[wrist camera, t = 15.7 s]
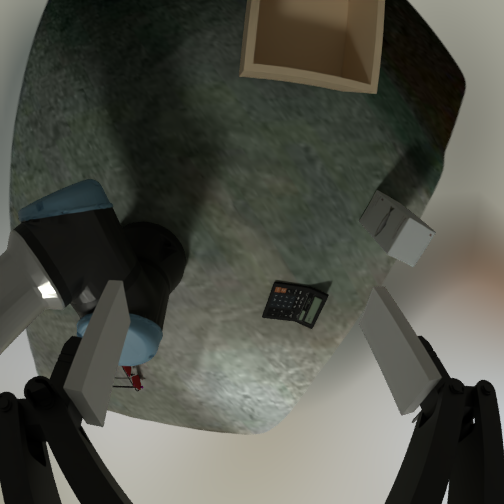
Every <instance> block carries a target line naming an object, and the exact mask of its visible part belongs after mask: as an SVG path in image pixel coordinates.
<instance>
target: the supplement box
mask: <svg viewBox="0 0 504 504" xmlns="http://www.w3.org/2000/svg"><path fill="white" fill-rule="evenodd" d="M359 222H360V223H361V225H362V226H363V227H364V228H365V229H366V230H367V231H368V232H369V234H370V235H371V236H372V237H373V238H374V239H375V240H376V242H377V243H378V244H379V245H380V246H381V248H382V249H383V250H384V251H385V252H386V254H387V255H389V256H392V257H394V258H396V259H398V260H400V261H402V262H404V263H406V264H408V265H410V266H412V267H414V266H415V264H416V263H417V261H418V260H419V258H420V257H421V255H422V254H423V252H424V251H425V249H426V248H427V246H428V244H429V243H430V241H431V240H432V238H433V236H434V235H435V233H436V232H435V231H434V230H433V229H431V228H430V227H429V226H428V225H427V224H426V223H424V222H423V221H422V220H421V219H420V218H418V217H417V216H416V215H415V214H413V213H412V212H411V211H410V210H408V209H407V208H406V207H405V206H404V205H402V204H401V203H399V202H397V201H396V200H394V199H392V198H391V197H389V196H387V195H385V194H384V193H382V192H380V191H378V190H376V192H375V194H374V196H373V198H372V200H371V202H370V203H369V205H368V207H367V209H366V210H365V212H364V214H363V215H362V217H361V218H360V220H359Z"/></svg>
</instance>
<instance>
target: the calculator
mask: <svg viewBox="0 0 504 504" xmlns="http://www.w3.org/2000/svg"><path fill="white" fill-rule="evenodd" d="M328 296H329V295H328V294H326V293H324V292H321V291H319V290H317V289H315V288H312V287H308V286H301V285H294V284H287V283H281V282H274V284H273V287H272V290H271V293H270V296H269V298H268V301H267V304H266V307H265V310H264V312H263V315H262V318H270V319H278V320H288V321H295V322H297V323H299V324H302V325H304V326H306V327H308V328H310V329H312V328H313V326H314V324H315V322H316V320H317V318H318V316H319V314H320V312H321V310H322V308H323V306H324V304H325V302H326V300H327V298H328Z"/></svg>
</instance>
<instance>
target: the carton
mask: <svg viewBox="0 0 504 504" xmlns="http://www.w3.org/2000/svg"><path fill="white" fill-rule="evenodd" d="M384 8H385V0H247V6H246V15H245V24H244V33H243V42H242V51H241V61H240V71H239V76H240V77H252V78H262V79H271V80H279V81H287V82H294V83H301V84H307V85H313V86H318V87H324V88H329V89H334V90H339V91H345V92H361V93H373V94H377V86H378V78H379V70H380V60H381V50H382V39H383V25H384Z"/></svg>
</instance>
